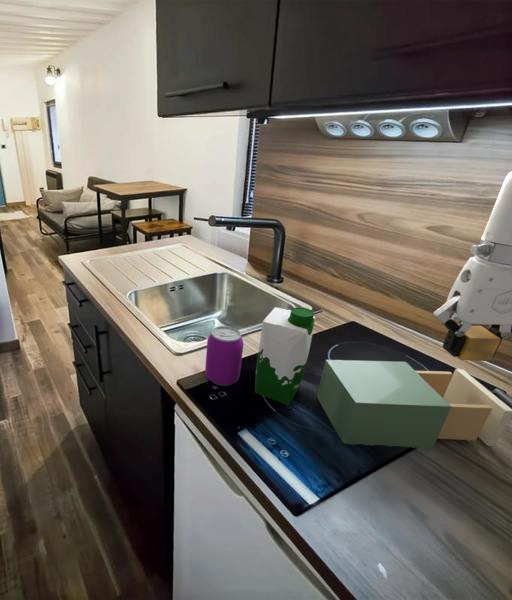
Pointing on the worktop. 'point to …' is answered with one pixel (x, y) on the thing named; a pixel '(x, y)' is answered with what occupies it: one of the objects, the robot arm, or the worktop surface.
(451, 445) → the worktop surface
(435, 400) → the cabinet
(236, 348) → the beverage can
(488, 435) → the drawer
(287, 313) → the milk carton
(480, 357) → the block
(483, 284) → the robot arm
